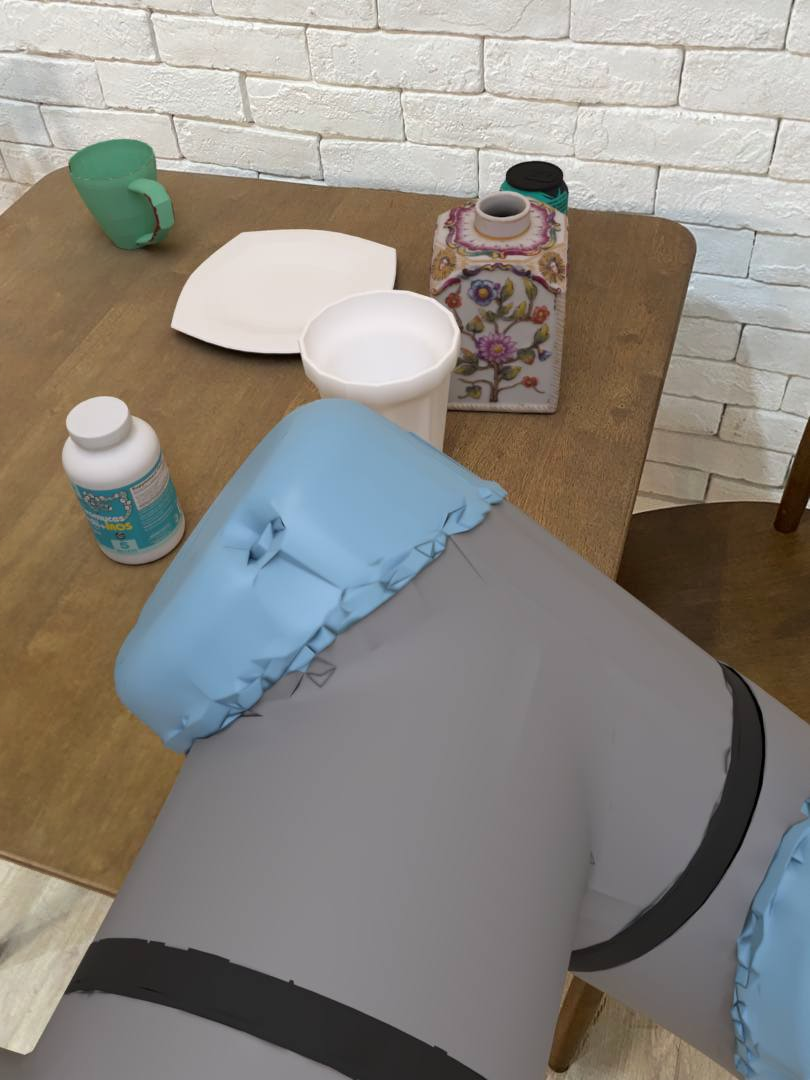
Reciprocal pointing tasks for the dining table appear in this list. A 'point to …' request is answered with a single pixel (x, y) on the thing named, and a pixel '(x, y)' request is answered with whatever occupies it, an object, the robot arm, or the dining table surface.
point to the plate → (276, 286)
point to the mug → (123, 191)
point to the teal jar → (538, 183)
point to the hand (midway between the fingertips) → (361, 708)
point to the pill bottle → (122, 481)
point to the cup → (385, 356)
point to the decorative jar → (503, 300)
